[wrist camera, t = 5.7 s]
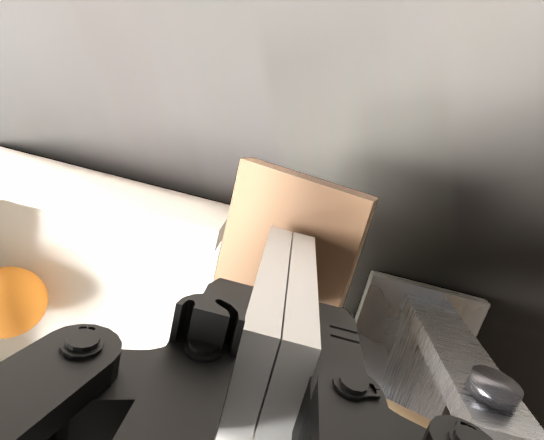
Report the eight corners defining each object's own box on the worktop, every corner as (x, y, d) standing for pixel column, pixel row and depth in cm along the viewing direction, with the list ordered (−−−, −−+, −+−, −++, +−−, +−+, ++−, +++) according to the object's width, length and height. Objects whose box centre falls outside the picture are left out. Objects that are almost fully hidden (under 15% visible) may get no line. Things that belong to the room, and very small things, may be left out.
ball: (-56, 335, 19) (-1, 364, 18) (-56, 269, 18) (2, 297, 17) (12, 305, 22) (61, 329, 22) (15, 248, 21) (66, 271, 20)
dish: (-23, 370, 24) (-84, 421, 20) (-17, 142, 20) (-92, 151, 16) (186, 424, 24) (164, 485, 20) (235, 206, 20) (219, 230, 16)
